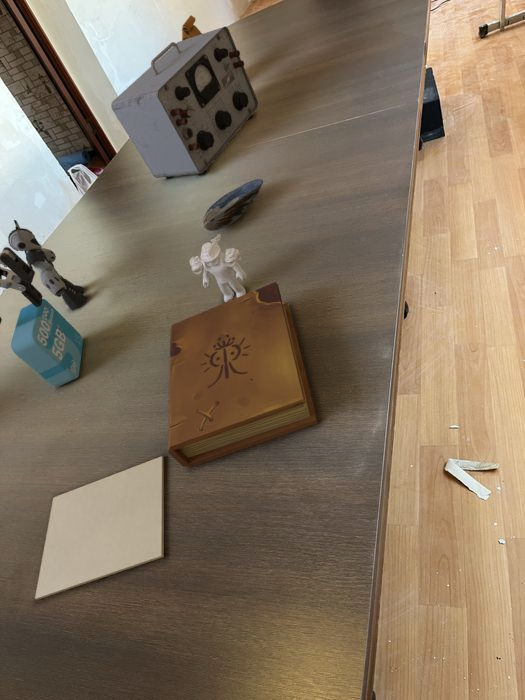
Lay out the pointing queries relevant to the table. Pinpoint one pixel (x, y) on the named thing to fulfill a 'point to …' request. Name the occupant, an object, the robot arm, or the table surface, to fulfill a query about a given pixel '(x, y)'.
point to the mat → (104, 528)
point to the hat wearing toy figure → (220, 268)
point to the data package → (48, 343)
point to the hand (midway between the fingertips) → (19, 313)
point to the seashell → (231, 206)
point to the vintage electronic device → (187, 104)
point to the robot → (46, 267)
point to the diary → (235, 378)
